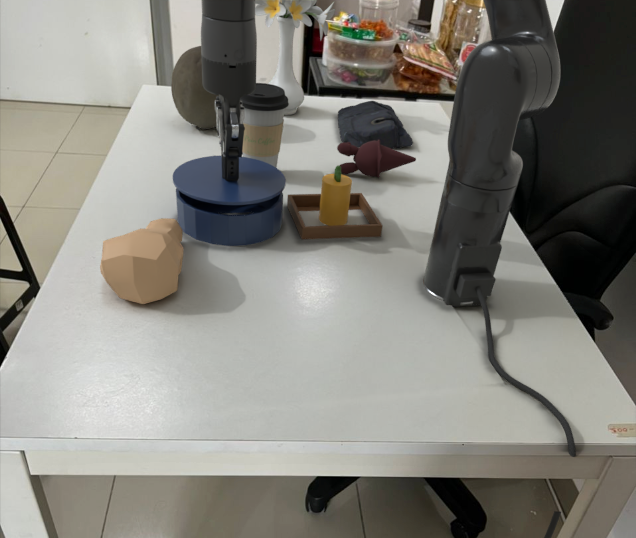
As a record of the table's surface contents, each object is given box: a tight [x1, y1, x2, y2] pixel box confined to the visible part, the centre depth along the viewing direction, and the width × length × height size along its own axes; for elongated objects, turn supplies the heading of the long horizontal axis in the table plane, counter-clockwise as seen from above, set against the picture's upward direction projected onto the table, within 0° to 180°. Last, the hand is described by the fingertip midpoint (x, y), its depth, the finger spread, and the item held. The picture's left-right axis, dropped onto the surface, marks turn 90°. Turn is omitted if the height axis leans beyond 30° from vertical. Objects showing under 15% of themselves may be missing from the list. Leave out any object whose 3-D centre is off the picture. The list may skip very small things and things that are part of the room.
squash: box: [99, 217, 185, 305], centre depth 89 cm, size 11×20×9 cm, turn 0°
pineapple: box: [318, 164, 353, 226], centre depth 104 cm, size 5×5×9 cm
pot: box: [175, 187, 284, 247], centre depth 103 cm, size 17×17×6 cm
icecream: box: [336, 140, 417, 179], centre depth 122 cm, size 7×7×15 cm
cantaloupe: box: [170, 45, 219, 130], centre depth 132 cm, size 14×14×15 cm
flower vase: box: [255, 0, 336, 116], centre depth 140 cm, size 13×18×25 cm
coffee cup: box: [240, 82, 289, 169], centre depth 115 cm, size 9×9×15 cm
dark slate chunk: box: [337, 100, 414, 150], centre depth 141 cm, size 15×22×5 cm
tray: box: [286, 192, 384, 240], centre depth 107 cm, size 12×13×2 cm
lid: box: [172, 141, 287, 205], centre depth 98 cm, size 17×17×7 cm
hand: (230, 175), depth 99 cm, fingers closed on lid, 2 cm apart
